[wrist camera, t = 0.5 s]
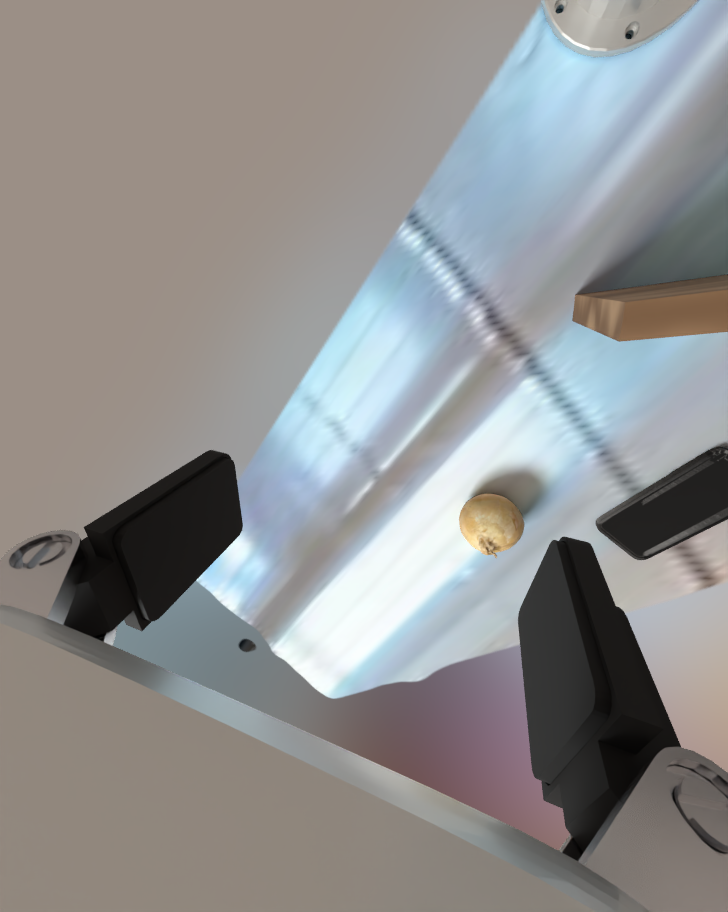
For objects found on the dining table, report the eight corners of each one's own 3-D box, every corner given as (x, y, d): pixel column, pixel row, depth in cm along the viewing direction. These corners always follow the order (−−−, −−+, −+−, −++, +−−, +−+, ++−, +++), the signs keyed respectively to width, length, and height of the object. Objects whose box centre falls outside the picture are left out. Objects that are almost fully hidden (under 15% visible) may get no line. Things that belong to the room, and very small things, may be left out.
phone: (781, 492, 34) (639, 563, 42) (773, 486, 35) (636, 556, 43) (723, 445, 34) (592, 525, 42) (717, 440, 35) (589, 519, 43)
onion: (450, 497, 48) (444, 529, 42) (504, 476, 44) (507, 507, 38) (477, 539, 49) (476, 575, 43) (532, 522, 45) (539, 559, 39)
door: (576, 283, 33) (628, 284, 21) (754, 258, 28) (948, 240, 16) (572, 320, 34) (618, 341, 22) (741, 301, 30) (911, 315, 18)
